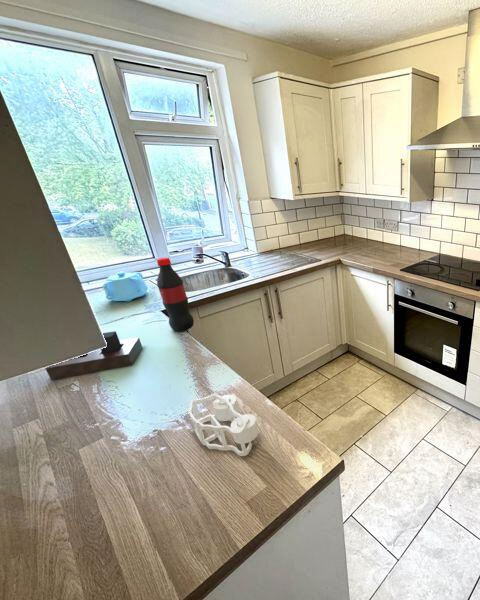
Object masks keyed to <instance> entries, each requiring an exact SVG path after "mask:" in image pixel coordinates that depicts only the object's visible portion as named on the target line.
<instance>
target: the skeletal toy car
mask: <svg viewBox="0 0 480 600" xmlns="http://www.w3.org/2000/svg"><path fill="white" fill-rule="evenodd" d="M214 399H215V400H214ZM212 400H214V401H213V403H212V408H213V412H214V414H212V413H209V414H207V415H205V416H203V417H201V415H200V411H199V409H198V405H199V404H204V403H207V402H210V401H212ZM187 412H188V415H189V417H190V420H191V422H192V423H191V424H192V426H193V429H194V432H195V435H196V437H197V439H198V440H199V442H200V443H201V445H203V446H206V447H207V448H208V449H209V450H218V451H224V452H226V451H232V452H234V453H235V454H237V456H239V457H246V456H248V455H249V453H250V452H251V450H252V447H253V446H252V445H253V444H252V441H254V440H255V439H256V438H257V437H258V435H259V426H258V423H257V418H256V416H255V415H254V414H250V413H246V414H245V413H244V414H241V413H240V407H239V402H238V398H237V396H235V395H234V394H224V395H222V396H221V395H219V394H218V393H212V394H210V395H207V396H205V397H204V396H203V397H201V398H194V399H192V400H191V401H190V402H189V408H188V409H187ZM228 421H229V422H230V426H228V425H221V424H220V422H228ZM206 422H210V423H211V424H205V423H206ZM203 431H213V433H212V434H211V435H210V436H208V437H206V438H205V434H204V432H203ZM225 432H228V433H229V434H230V435H232V437H233V441H234V442H235V443H236V444H238V445H240V448H241V450H239V449H238V447H236V446H235V445H232V444H228V443H227V439H226V436H225ZM216 439H217V440H218V441H219V442H220V444H217V443H210V442H212V441H214V440H216ZM246 444H248V445H247V447H246Z"/></svg>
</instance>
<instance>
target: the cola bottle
mask: <svg viewBox="0 0 480 600" xmlns="http://www.w3.org/2000/svg"><path fill="white" fill-rule="evenodd" d="M156 262H157V266H158V267H159V272H158V274H157V279H156V286H157V288H158V291H159V295H160V298H161V301H162V305H163V307H164V309H165V311H166V312H167V314H168V324H169V327H170V328H171V330H173V331H174V332H184V331H188V330H190V329H191V328H193V327H194V324H195V320H194V317H193V315H192V314H191V312H190V309H189V308H190V307H189V299H188V296H187V293H186V290H185V284H184V280H183V279H182V277H181V276H180V275H179V274H178V273H177V272H176V271H175V270H174V268H173V267H172V266H171V265H172V263H171V262H172V261H171V260H170V258H169V257H160V258H157V260H156Z"/></svg>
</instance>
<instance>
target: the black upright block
mask: <svg viewBox="0 0 480 600" xmlns="http://www.w3.org/2000/svg"><path fill="white" fill-rule="evenodd" d="M102 333H103V335H104V338H105V340H106V342H107V347H106V348H103V349H101V350H102V353H103V354H105V353H111V352H117V351H120V349H121V348H122V346H121V344H120V341H119V340H120V339H119V336H118V333H117V331H116V330H114V331H108V332H102Z"/></svg>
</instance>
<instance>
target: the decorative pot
mask: <svg viewBox="0 0 480 600" xmlns="http://www.w3.org/2000/svg"><path fill="white" fill-rule="evenodd" d="M102 289H103V290H104V293H105V299H107V300H109V301H110V300H111V301H115V302H126V303H127V302H131V301H133V300H134V299H136V298H137V299H138V298H141V297H143V296H144V295H145V294H147V292H148V286H147V283H146V282H145V281H144V276H143V274H142V272H139V271H134V272H125V271H123V270H122V271H118V272H116V274H114V275H109V276H107V277H106V281H105V282H104V283H102Z"/></svg>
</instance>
